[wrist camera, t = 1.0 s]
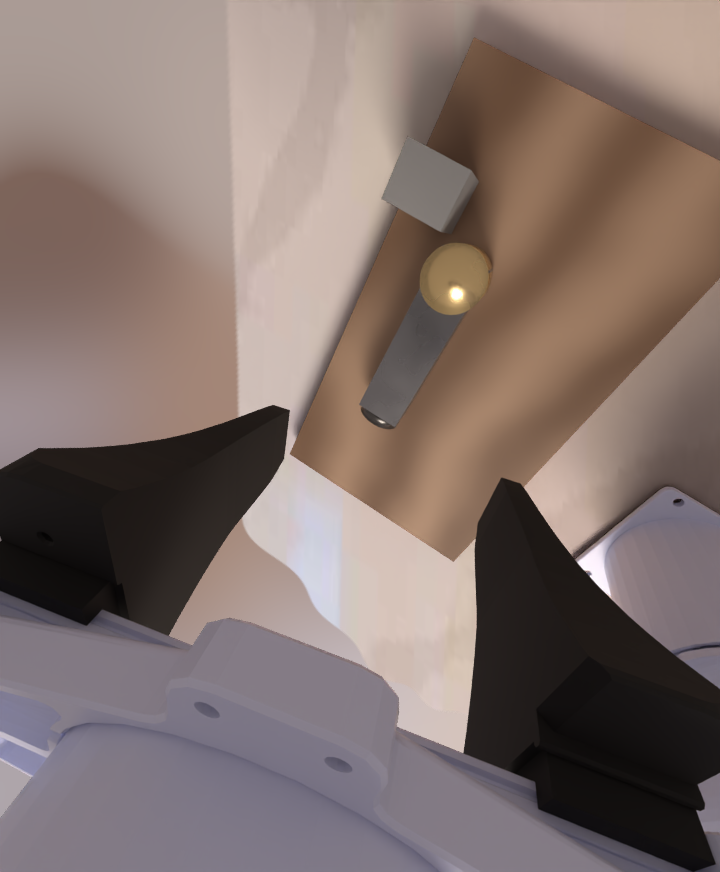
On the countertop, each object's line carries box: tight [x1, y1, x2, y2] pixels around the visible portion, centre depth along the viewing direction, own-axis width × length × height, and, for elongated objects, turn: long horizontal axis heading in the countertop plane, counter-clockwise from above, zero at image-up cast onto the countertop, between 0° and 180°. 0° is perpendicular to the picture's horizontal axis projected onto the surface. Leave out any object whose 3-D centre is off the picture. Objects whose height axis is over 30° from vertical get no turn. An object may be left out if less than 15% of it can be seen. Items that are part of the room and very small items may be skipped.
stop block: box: [382, 136, 479, 234], centre depth 18 cm, size 3×2×3 cm
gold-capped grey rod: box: [359, 243, 493, 429], centre depth 20 cm, size 10×3×3 cm, turn 154°
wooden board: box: [290, 38, 720, 562], centre depth 22 cm, size 14×24×2 cm, turn 154°
